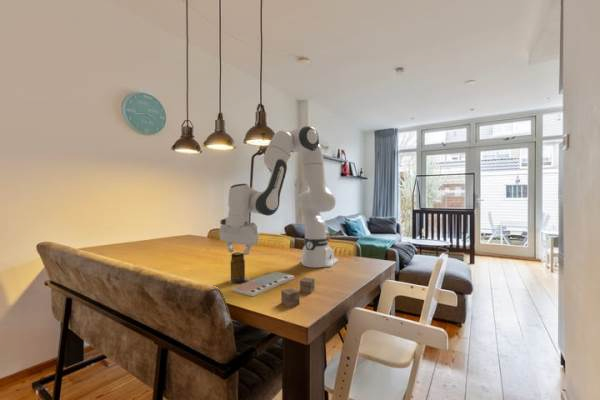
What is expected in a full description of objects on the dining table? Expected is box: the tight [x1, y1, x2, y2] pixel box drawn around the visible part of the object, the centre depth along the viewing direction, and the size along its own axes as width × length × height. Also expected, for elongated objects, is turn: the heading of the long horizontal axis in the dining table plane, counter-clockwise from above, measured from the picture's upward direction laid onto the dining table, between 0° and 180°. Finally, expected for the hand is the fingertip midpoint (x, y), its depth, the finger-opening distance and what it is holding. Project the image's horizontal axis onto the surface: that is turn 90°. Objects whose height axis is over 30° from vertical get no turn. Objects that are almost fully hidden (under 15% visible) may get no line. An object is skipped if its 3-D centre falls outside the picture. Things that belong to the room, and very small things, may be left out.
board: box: [231, 271, 295, 297], centre depth 119 cm, size 26×11×2 cm, turn 146°
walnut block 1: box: [280, 287, 300, 308], centre depth 98 cm, size 4×4×4 cm
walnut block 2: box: [299, 277, 316, 294], centre depth 111 cm, size 4×4×4 cm
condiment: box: [227, 252, 252, 285], centre depth 123 cm, size 7×8×12 cm
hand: (238, 253), depth 123 cm, fingers open, 8 cm apart
